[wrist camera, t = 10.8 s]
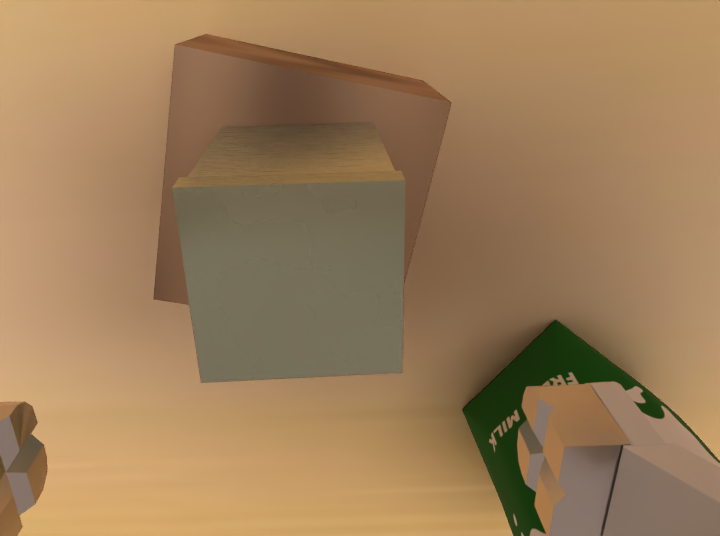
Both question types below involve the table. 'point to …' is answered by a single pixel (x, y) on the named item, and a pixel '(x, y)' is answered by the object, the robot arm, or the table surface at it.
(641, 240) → the table surface
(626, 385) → the soya milk
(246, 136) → the grey wooden block
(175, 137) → the walnut block
